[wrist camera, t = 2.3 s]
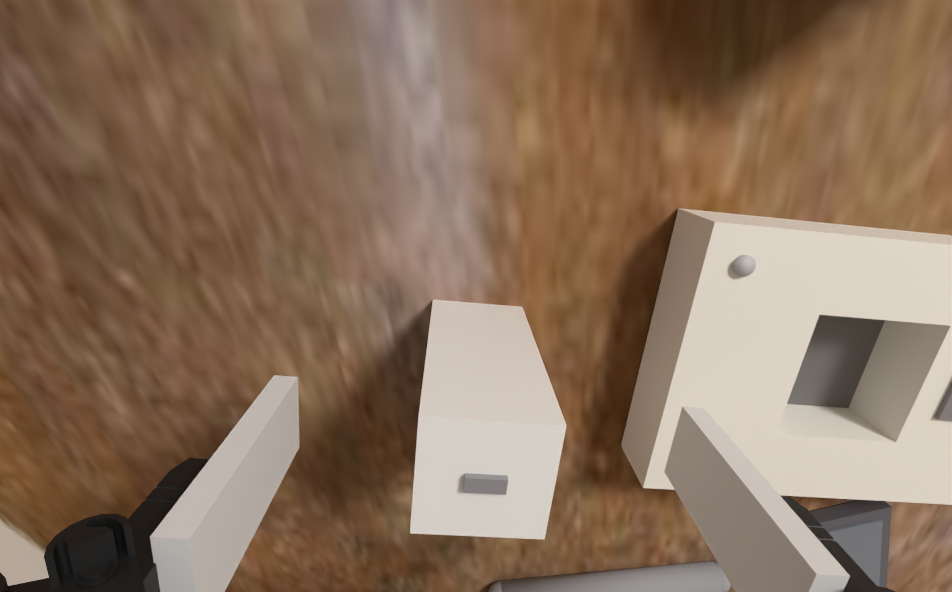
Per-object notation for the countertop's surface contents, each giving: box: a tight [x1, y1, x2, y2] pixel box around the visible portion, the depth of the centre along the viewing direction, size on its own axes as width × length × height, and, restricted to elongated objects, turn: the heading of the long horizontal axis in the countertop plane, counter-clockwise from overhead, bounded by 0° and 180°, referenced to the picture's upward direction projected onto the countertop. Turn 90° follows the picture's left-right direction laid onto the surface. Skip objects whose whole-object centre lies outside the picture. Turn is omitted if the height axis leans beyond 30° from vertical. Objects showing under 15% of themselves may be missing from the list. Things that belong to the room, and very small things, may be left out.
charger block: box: [410, 300, 566, 539], centre depth 18 cm, size 4×4×9 cm
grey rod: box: [488, 561, 731, 592], centre depth 27 cm, size 14×2×2 cm, turn 94°
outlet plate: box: [621, 208, 952, 505], centre depth 21 cm, size 16×12×3 cm
